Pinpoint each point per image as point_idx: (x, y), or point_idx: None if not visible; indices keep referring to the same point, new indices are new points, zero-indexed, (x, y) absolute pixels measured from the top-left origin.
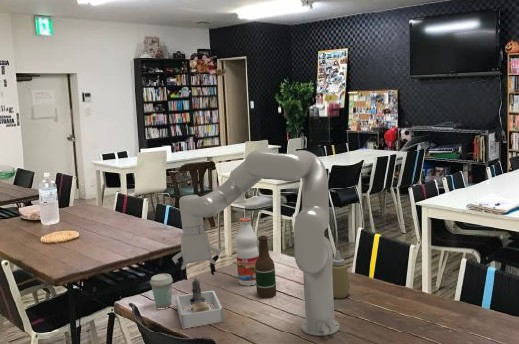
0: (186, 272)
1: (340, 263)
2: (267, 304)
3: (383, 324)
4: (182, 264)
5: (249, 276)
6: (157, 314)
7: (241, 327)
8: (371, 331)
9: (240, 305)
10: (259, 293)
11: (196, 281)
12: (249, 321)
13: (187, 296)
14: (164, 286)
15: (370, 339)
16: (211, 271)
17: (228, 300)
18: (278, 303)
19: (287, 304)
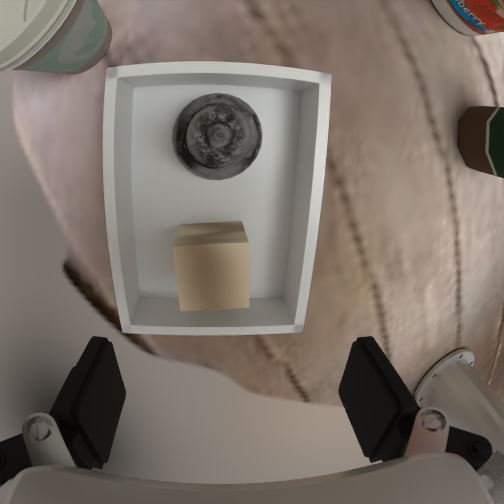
0: (112, 443)
1: None
2: (454, 213)
3: (493, 372)
4: (45, 455)
5: (479, 24)
6: (48, 121)
7: (324, 347)
8: None
9: (391, 173)
10: (469, 150)
11: (222, 153)
12: (361, 318)
13: (170, 75)
14: (25, 62)
15: None
16: (350, 397)
17: (367, 94)
18: (473, 222)
19: (481, 241)
